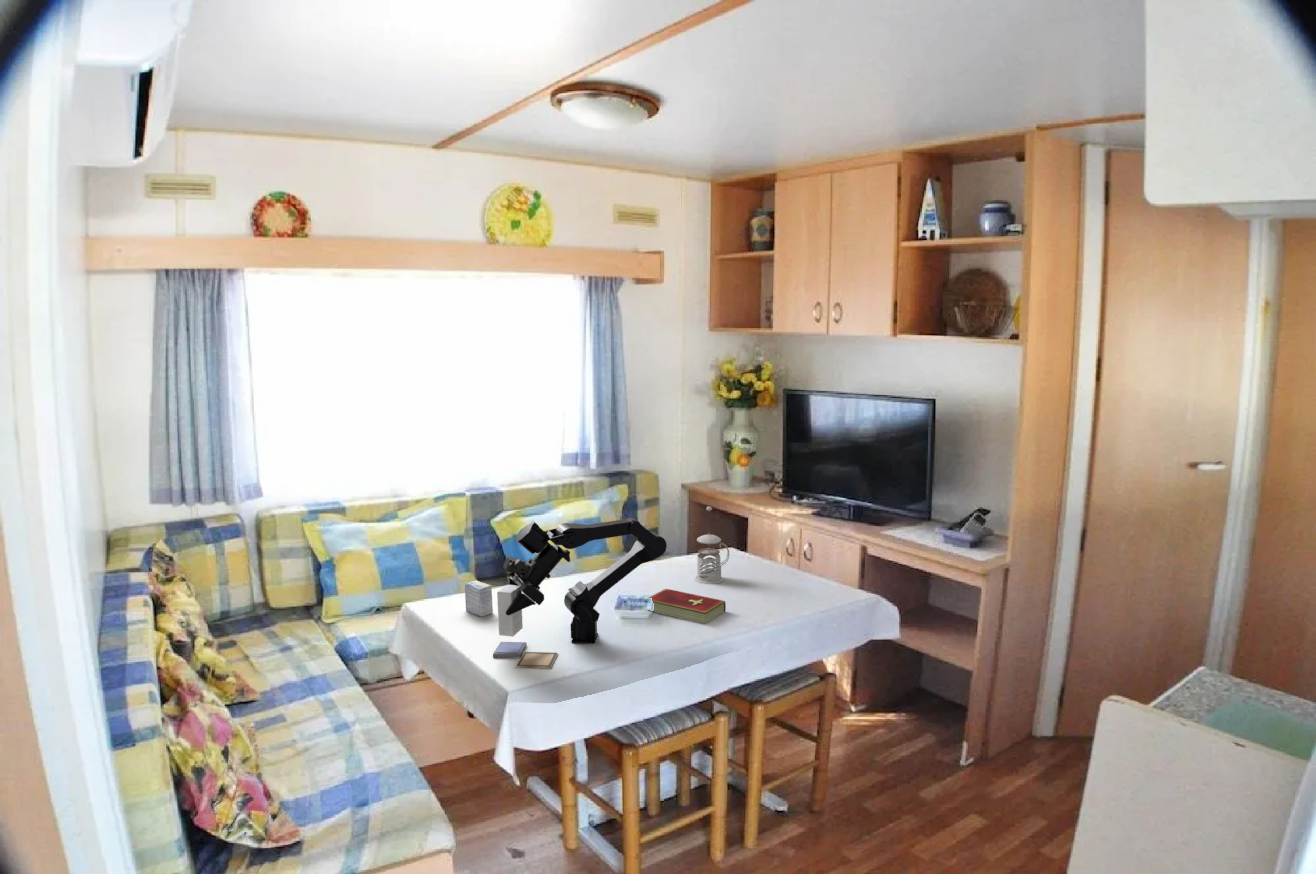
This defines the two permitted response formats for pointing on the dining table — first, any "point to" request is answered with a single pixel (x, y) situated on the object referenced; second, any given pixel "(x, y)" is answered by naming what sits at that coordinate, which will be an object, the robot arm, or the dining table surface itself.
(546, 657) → the marked board
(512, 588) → the skincare box
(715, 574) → the french press
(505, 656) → the ink pad
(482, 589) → the medicine box
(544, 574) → the robot arm
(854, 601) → the dining table surface
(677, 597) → the hardcover book
